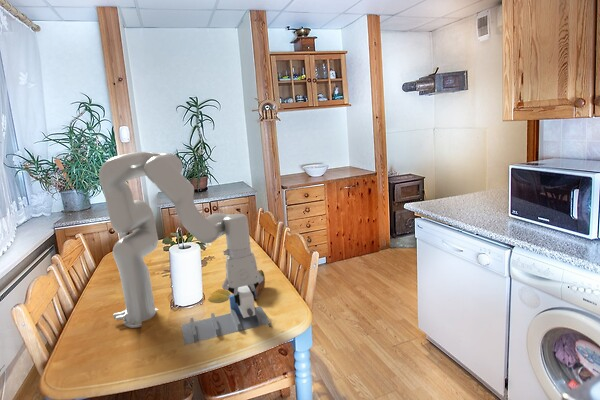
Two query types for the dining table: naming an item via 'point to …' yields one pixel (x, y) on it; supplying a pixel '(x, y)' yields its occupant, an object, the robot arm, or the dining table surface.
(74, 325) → the dining table surface
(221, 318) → the board
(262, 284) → the brown flat oval slab
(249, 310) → the cable plug
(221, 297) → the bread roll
